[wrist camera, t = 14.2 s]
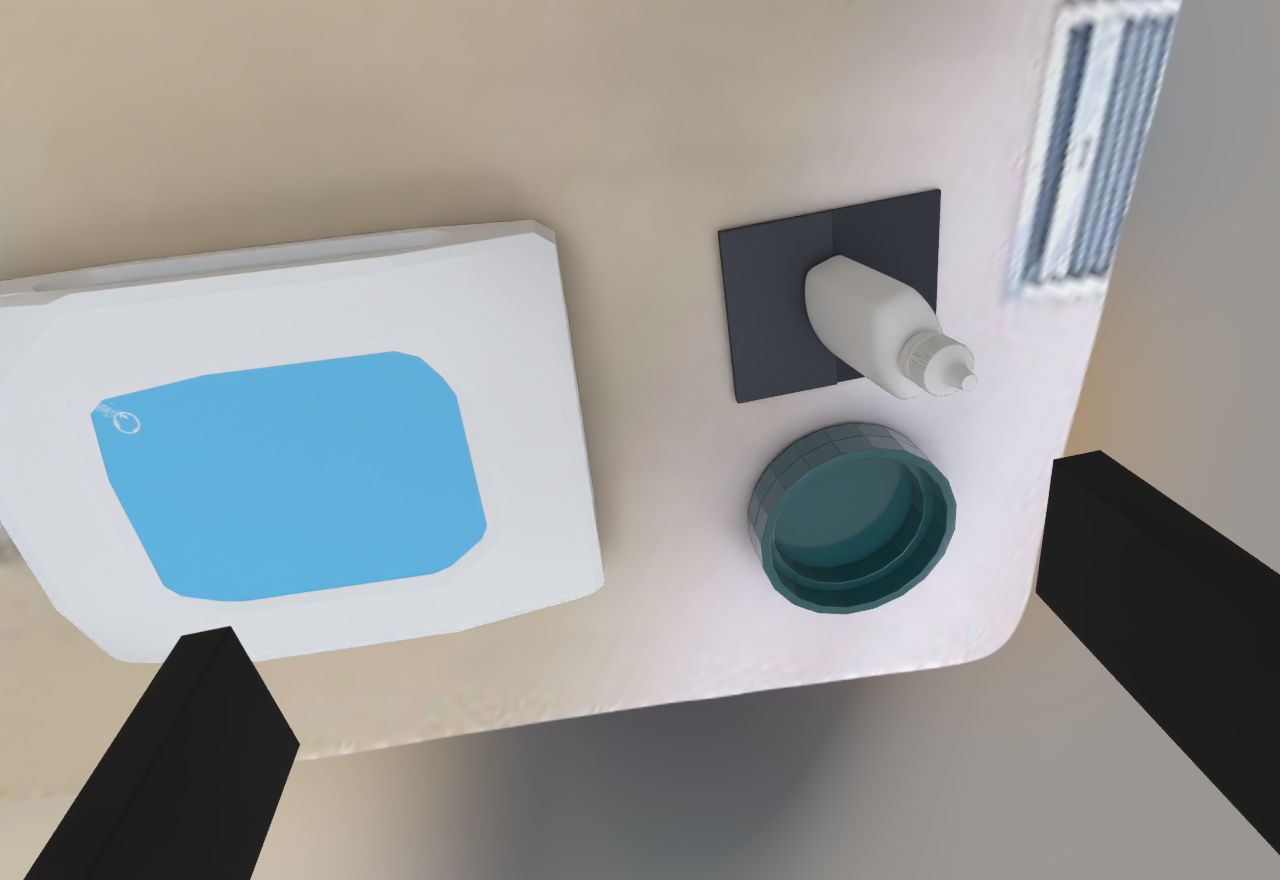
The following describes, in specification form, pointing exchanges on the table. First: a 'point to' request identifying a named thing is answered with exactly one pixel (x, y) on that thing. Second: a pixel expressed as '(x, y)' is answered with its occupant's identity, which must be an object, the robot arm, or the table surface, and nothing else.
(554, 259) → the document scanner
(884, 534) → the bowl
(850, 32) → the table surface
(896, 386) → the eye dropper bottle
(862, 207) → the napkin
